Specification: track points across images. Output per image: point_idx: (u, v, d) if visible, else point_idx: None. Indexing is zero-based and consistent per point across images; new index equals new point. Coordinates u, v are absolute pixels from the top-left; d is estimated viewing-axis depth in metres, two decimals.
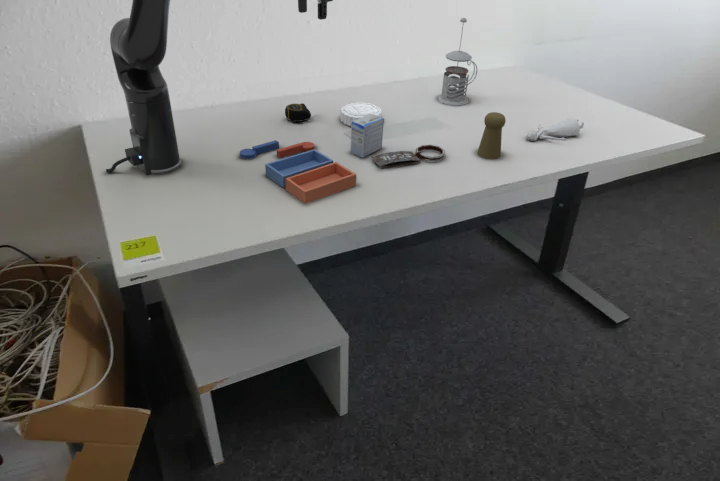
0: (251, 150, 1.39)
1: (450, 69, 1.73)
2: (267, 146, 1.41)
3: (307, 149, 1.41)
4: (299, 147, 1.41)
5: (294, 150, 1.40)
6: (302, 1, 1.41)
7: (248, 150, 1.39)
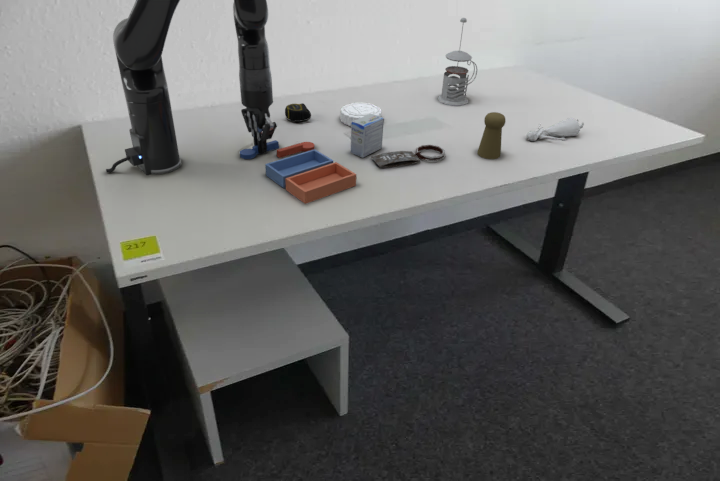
0: (251, 150, 1.39)
1: (450, 69, 1.73)
2: (267, 146, 1.41)
3: (307, 149, 1.41)
4: (299, 147, 1.41)
5: (294, 150, 1.40)
6: None
7: (248, 150, 1.39)
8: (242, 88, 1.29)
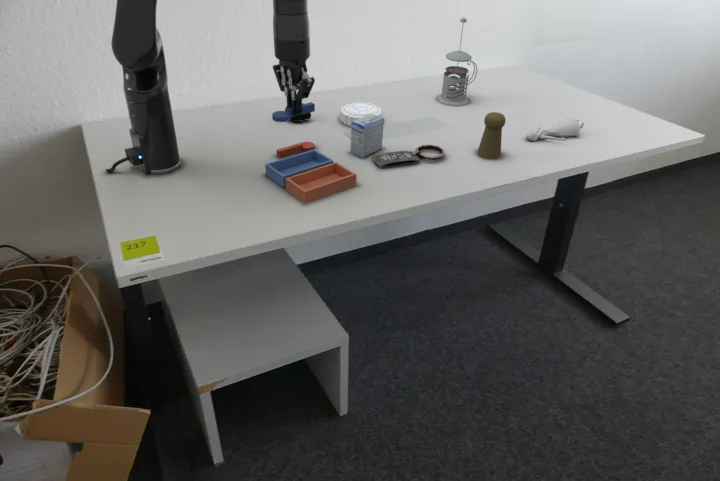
0: (285, 112, 1.24)
1: (450, 69, 1.73)
2: (302, 108, 1.25)
3: (307, 149, 1.41)
4: (299, 147, 1.41)
5: (294, 150, 1.40)
6: (291, 101, 1.24)
7: (281, 112, 1.24)
8: (276, 38, 1.13)
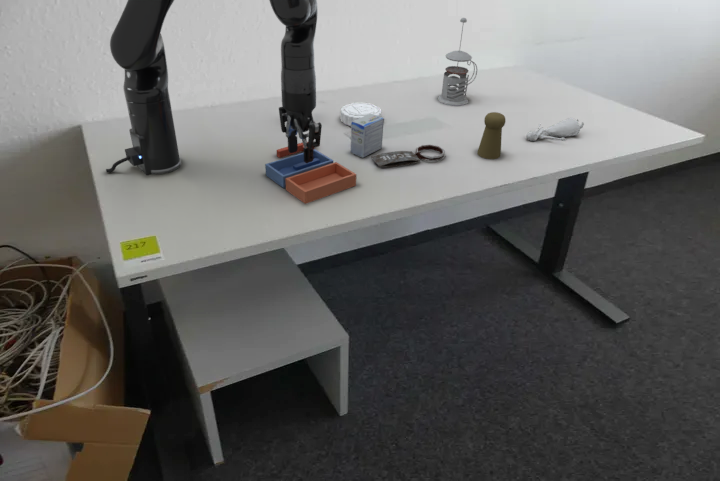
0: (291, 169, 1.30)
1: (450, 69, 1.73)
2: (308, 164, 1.32)
3: None
4: (299, 147, 1.41)
5: None
6: (292, 142, 1.30)
7: (288, 169, 1.30)
8: (284, 90, 1.18)
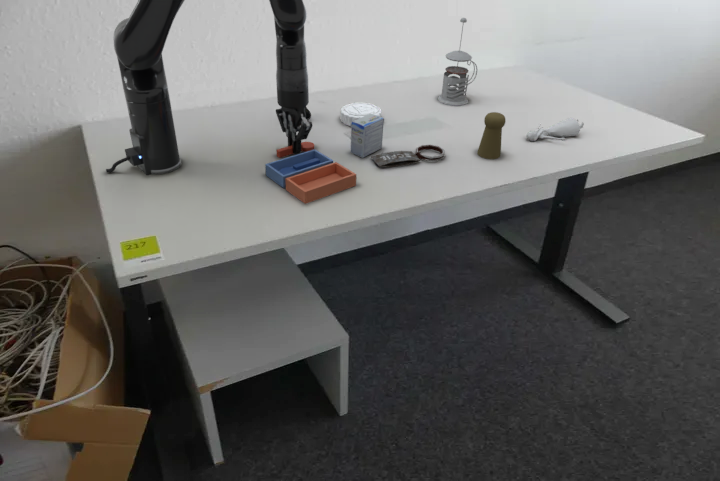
0: (291, 169, 1.30)
1: (450, 69, 1.73)
2: (308, 164, 1.32)
3: (307, 149, 1.41)
4: None
5: None
6: (292, 141, 1.40)
7: (288, 169, 1.30)
8: (279, 88, 1.30)
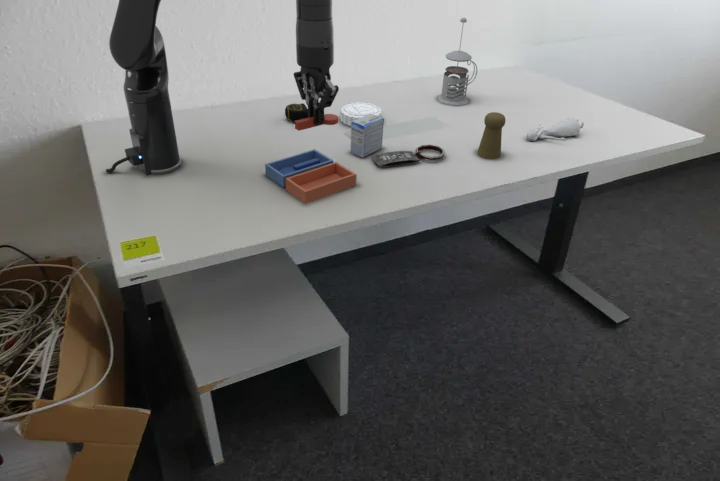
0: (291, 169, 1.30)
1: (450, 69, 1.73)
2: (308, 164, 1.32)
3: (330, 121, 1.20)
4: None
5: None
6: (313, 110, 1.19)
7: (288, 169, 1.30)
8: (300, 44, 1.08)
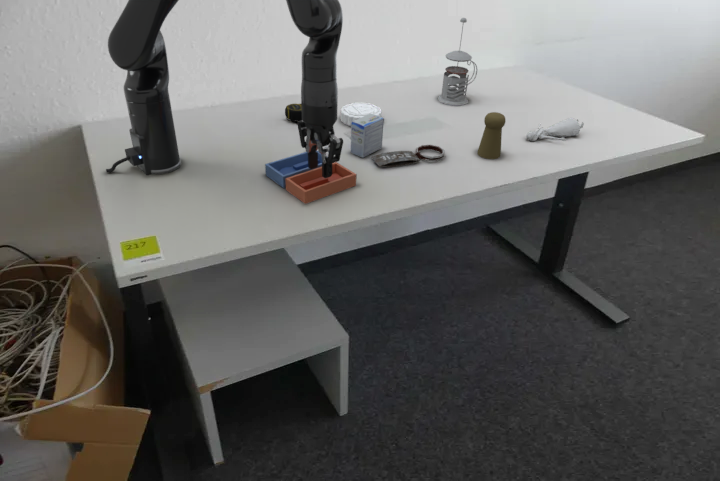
0: (291, 169, 1.30)
1: (450, 69, 1.73)
2: None
3: None
4: (324, 181, 1.25)
5: (319, 184, 1.25)
6: (312, 157, 1.24)
7: (288, 169, 1.30)
8: (305, 103, 1.12)
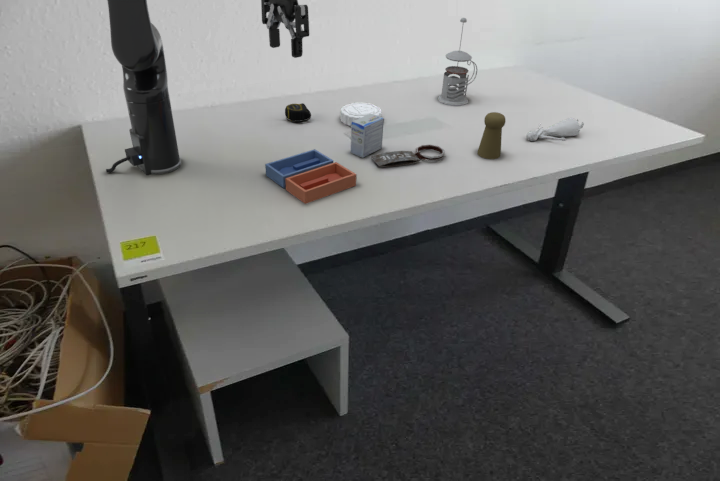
0: (291, 169, 1.30)
1: (450, 69, 1.73)
2: (308, 164, 1.32)
3: None
4: (324, 181, 1.25)
5: (319, 184, 1.25)
6: (274, 34, 1.18)
7: (288, 169, 1.30)
8: None
